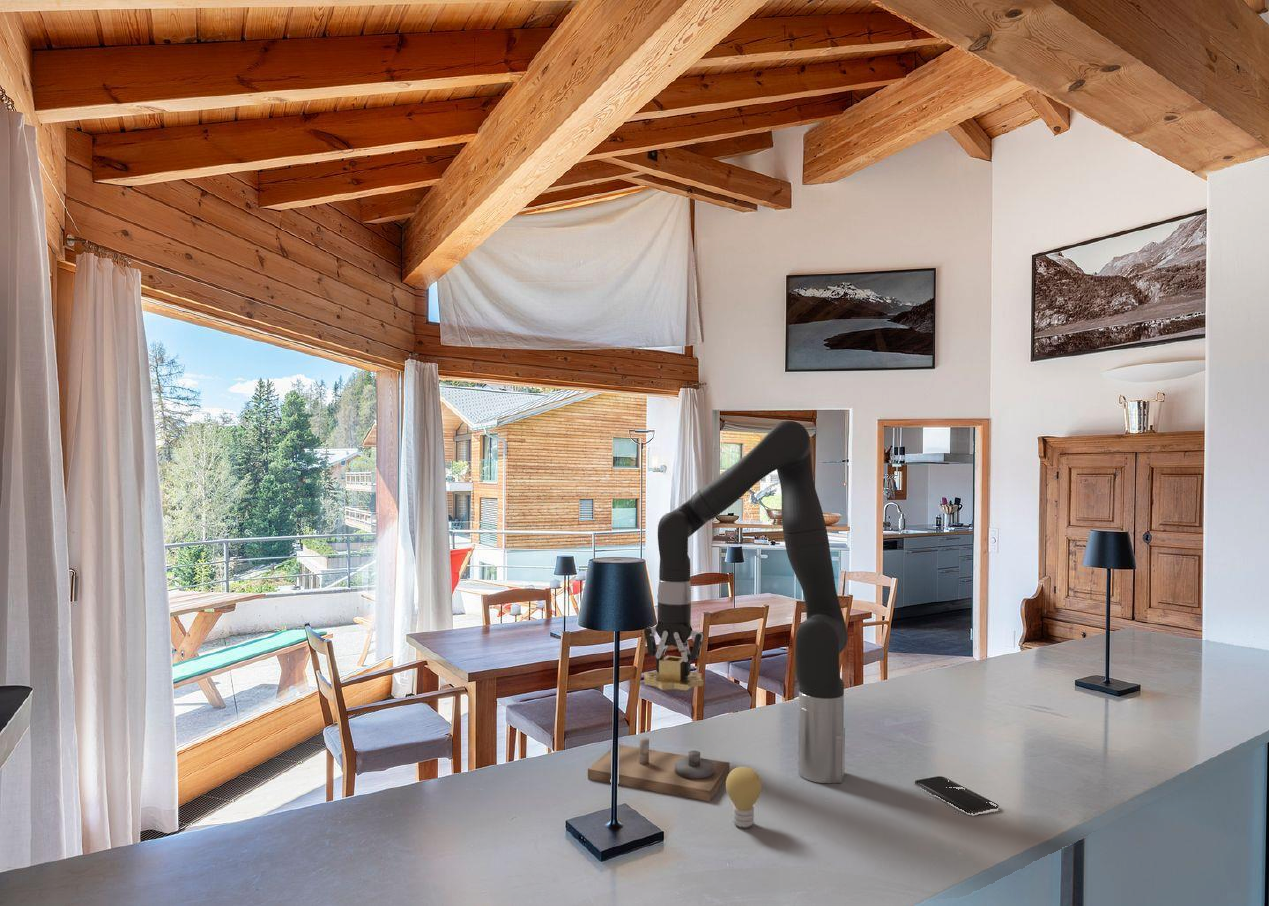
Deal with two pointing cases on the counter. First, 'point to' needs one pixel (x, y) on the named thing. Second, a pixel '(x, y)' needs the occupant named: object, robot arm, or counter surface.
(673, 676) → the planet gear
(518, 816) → the counter surface
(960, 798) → the phone
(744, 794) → the light bulb
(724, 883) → the counter surface
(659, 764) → the wooden peg board
